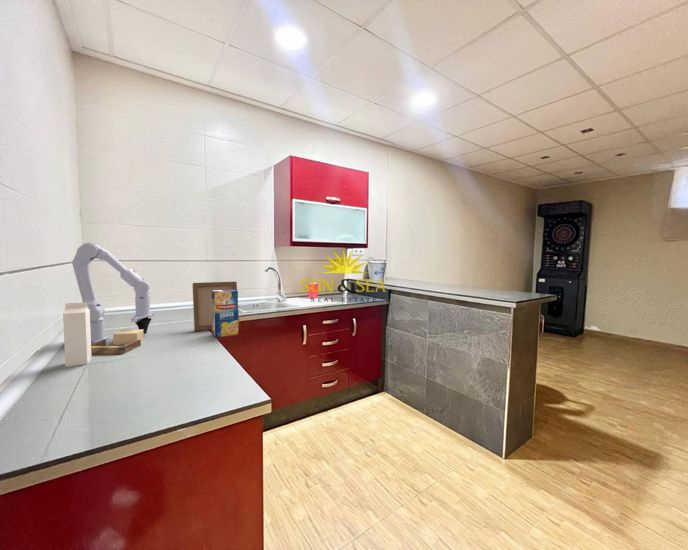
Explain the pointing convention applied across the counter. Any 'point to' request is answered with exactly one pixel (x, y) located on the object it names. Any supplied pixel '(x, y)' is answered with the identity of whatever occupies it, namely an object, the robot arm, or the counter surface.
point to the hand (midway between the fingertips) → (143, 333)
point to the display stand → (112, 347)
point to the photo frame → (207, 302)
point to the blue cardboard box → (224, 313)
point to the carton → (127, 336)
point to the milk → (77, 334)
